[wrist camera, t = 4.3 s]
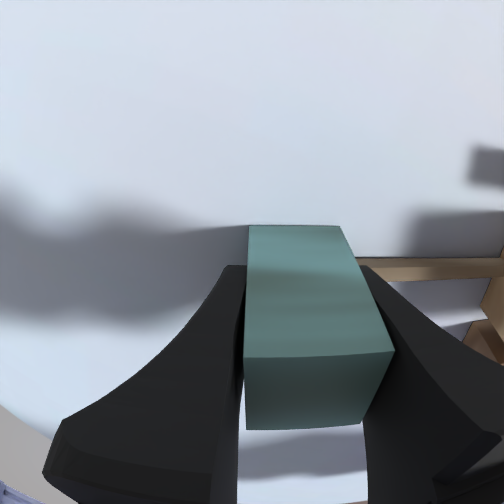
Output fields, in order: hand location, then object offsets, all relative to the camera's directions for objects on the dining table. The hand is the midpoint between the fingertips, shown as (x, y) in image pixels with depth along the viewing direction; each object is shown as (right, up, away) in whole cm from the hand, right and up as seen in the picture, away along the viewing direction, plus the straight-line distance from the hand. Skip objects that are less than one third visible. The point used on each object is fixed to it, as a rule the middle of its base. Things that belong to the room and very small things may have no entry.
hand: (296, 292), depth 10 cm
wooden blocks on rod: (+7, +1, +1) cm, 7 cm away
